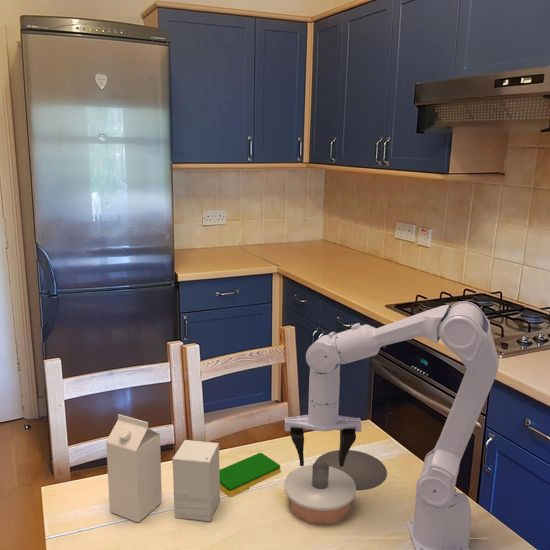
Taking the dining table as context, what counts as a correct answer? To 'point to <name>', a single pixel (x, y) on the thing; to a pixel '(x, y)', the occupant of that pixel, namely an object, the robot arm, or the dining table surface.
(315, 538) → the dining table surface
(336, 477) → the lid
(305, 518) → the bowl
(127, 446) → the milk carton
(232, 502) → the dining table surface
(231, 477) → the dish sponge
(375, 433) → the dining table surface
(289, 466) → the dining table surface
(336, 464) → the mat
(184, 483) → the supplement box
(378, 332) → the robot arm
